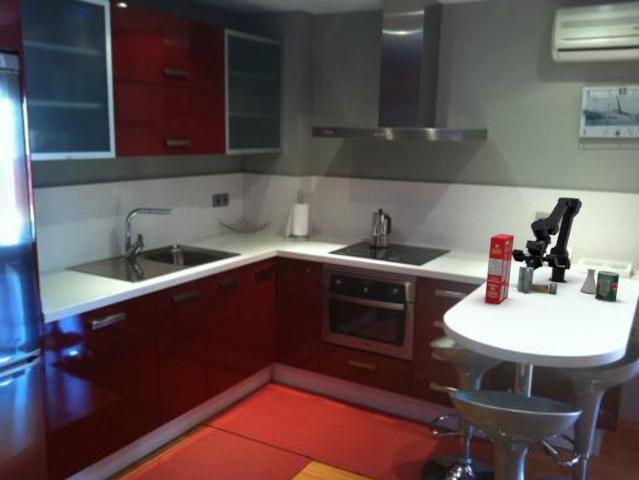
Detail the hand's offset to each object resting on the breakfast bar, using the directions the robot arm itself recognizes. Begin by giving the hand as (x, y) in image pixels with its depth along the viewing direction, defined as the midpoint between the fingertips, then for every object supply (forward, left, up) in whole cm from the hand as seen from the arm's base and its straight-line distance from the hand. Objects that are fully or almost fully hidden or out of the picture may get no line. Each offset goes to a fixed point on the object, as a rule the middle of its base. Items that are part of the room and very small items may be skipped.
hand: (527, 273), depth 252 cm
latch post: (+5, -1, -7) cm, 9 cm away
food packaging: (+23, -15, -7) cm, 28 cm away
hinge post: (+2, +11, -7) cm, 13 cm away
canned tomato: (+5, +31, -7) cm, 32 cm away
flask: (-7, +28, -7) cm, 29 cm away
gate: (+2, +3, -7) cm, 8 cm away
